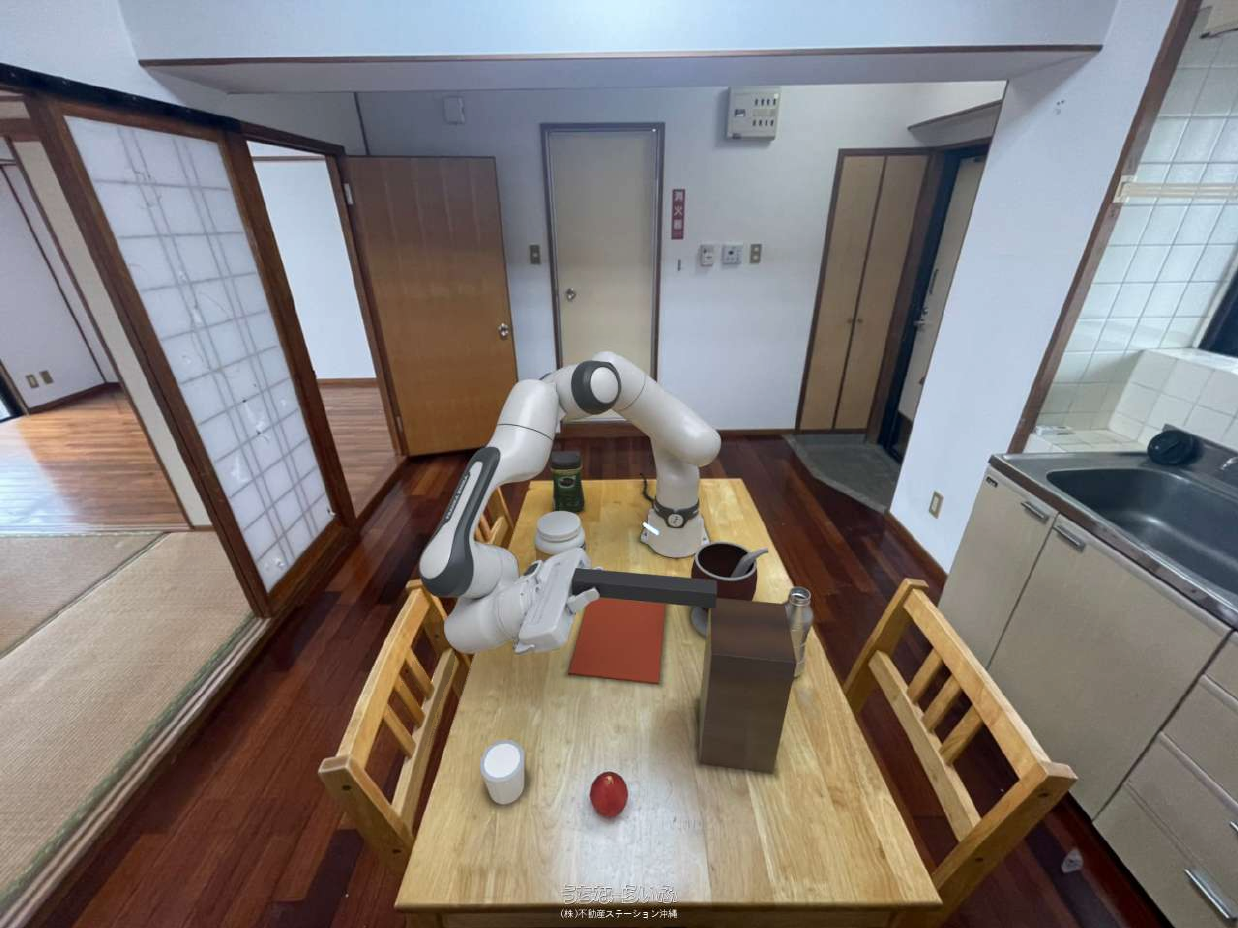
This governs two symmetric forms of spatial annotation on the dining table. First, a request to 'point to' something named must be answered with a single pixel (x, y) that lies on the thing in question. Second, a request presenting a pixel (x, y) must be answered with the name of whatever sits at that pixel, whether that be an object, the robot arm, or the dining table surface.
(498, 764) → the white short cylinder
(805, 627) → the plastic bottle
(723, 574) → the mate gourd
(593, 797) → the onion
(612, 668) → the baking mat
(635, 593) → the handle
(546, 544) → the supplement tub
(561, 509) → the coffee jar
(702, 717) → the tall wooden block
